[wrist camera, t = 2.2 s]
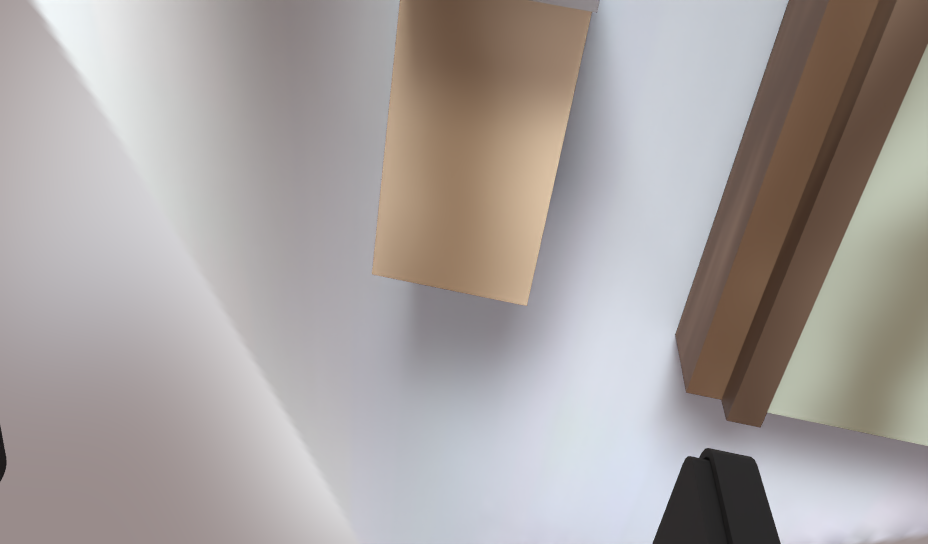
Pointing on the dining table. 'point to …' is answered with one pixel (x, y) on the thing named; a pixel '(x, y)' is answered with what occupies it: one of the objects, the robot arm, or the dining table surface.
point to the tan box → (476, 140)
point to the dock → (824, 232)
